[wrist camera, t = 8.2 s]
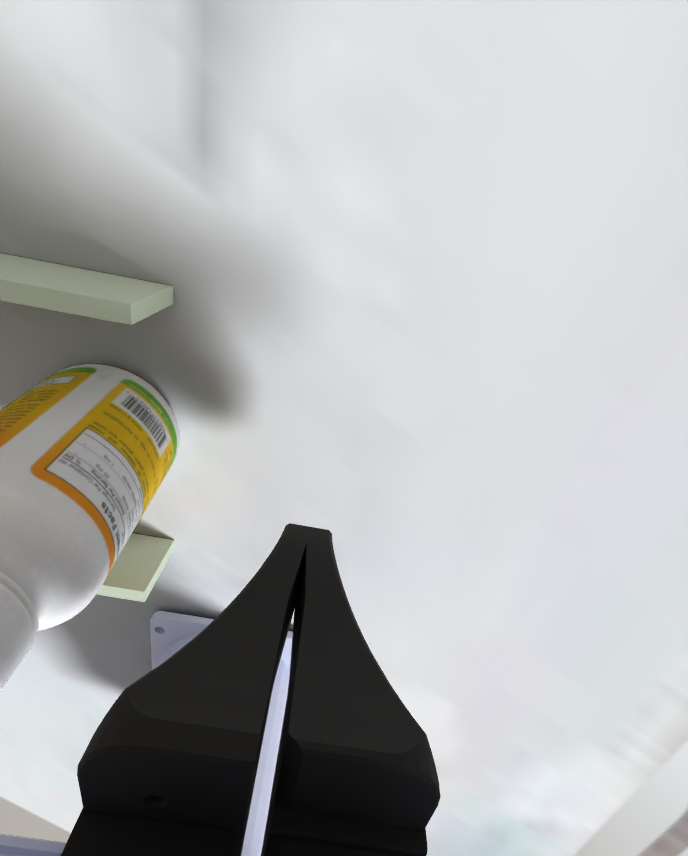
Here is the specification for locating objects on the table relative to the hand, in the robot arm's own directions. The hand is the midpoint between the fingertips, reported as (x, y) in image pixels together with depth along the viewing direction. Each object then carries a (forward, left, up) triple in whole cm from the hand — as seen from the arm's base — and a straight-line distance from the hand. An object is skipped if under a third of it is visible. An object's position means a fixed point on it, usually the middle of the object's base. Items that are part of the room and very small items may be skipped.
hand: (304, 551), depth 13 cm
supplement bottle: (0, +8, -5) cm, 10 cm away
